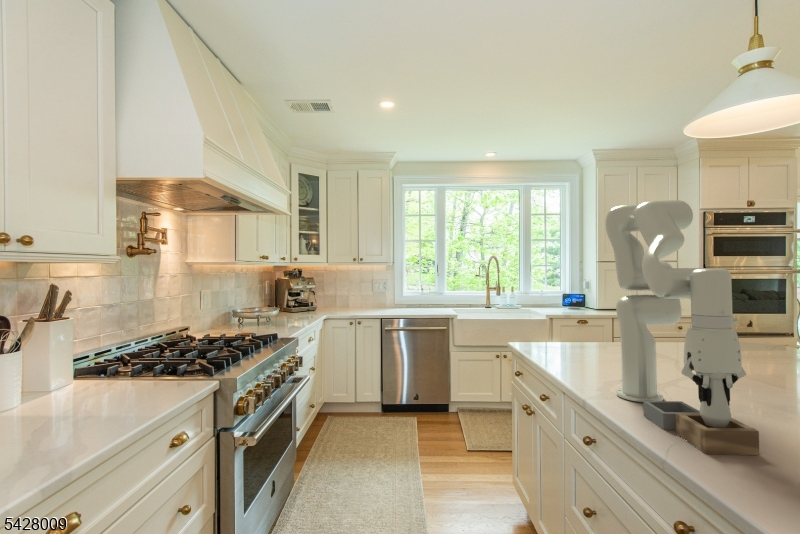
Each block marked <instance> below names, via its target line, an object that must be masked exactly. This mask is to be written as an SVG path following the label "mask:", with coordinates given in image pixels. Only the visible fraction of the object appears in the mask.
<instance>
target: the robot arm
mask: <svg viewBox="0 0 800 534" xmlns="http://www.w3.org/2000/svg"><path fill="white" fill-rule="evenodd" d="M605 216H606V217H605V231H606V234H607V237H608V239H609V242H610V244H611V247H612V250H613V254H614V262H615V270H616V276H617V281H618V285H619V287H620V289H622V290H624V291H629V292H652V294H628V295H625V296H622V297H620V298H619V299H618V301H617V302H616V306H615V308H616V309H615V310H616V315H617V319H618V320H617V321H618V324H619V325H618V326H619V333H620V334H619V337H620V361H621V362H620V363H621V365H620V366H621V381H620V382H621V387H620V388H618V389H617V390H616V396H618V397H620V399H624V400H627V401H631V402H638V403H643V401H664V395H663V394H662V393H660V392H658V368H657V367H658V366H657V343H656V338H655V336H654V335H653V333H652V332H651V331H650V330H649V329H648V327H651V326H674V325H676V324H678V323H679V321H680V320H681V317H682V306H681V299H689V300H690V313H691V314H690V315H691V316H690V317H691V327H687V329H686V334H685V339H684V346H683V347H684V348H683V368H682V370H681V372H680V373H681V374H682V375H683V376H684V377H687V378H689V379H690V380H692V381H693V382H694V383H695V385H696V386H697V387H698V388H697V391H698V393H697V394H698V400H699V402H700V403H701V402H702V401H706V403H707V406H711V398H712V394H711V389H710V388H708V386H709V374H714V373H717V372H723V373H724V374H726V377H725V378H724V379H723V383H724V390H725V395H726V398H727V402H728V405H729V406H730V401H731V389H732V388H733V387H734V384H735V383H736V382H737V381H738V380H739V379H741V378H742V379H743V378H744V377H746V375H747V372H746V371H745V369H744V367H743V365H742V364H743V363H742V351H741V345H740V339H739V336H738V333H737V330H736V328H735V329H734V324H738V322H739V319H738V318H737V317H734V315H733V292H732V291H733V289H732V285H733V284H732V274H731V272H730V271H729V270H728V269H726V268H706V267H705V268H704V267H675V268H674V267H673V266H672V265H671V264H670V262H669V263H668V262H666V261H663V260H661V259H664V258H666V257H668V256H670V255H672V254H674V253H675V252H677V251H678V250H680V249H681V248H682V247H683V245H684V244H685V236H684V234H683V232H682V231H681V230H685V229H687V228H689V227H690V226H691V224H692V222H693V220H694V213H693V209H692V208H691V206H690V204H689V203H687V202H686V201H684V200H681V199H679V200H678V199H677V200H675V199H672V200H671V199H670V200H668V199H667V200H649V201H645V202H642V203H641V204H624V205H623V204H622V205H618V206H614V207H612V208H611V209H609V211H608V212H607V214H606V215H605ZM633 232H639V233H640V234H641V236H642V238H643V239H644V241H645V243H646V245H647V247H648V248H647V249H646V250H645V247H644V246H643V244H642V243H641V241H640V240H639V239H638V238H637V237H636V236H635V235H634V234H632V233H633ZM693 371H694V373H693Z"/></svg>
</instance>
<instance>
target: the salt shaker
mask: <svg viewBox="0 0 800 534" xmlns="http://www.w3.org/2000/svg"><path fill="white" fill-rule="evenodd" d="M725 377H726V374H724V373H723V372H717V373H714V374H709V386H708V388H710V389H711V394H712V398H711V406H707V403H706V401H702V402H700V407H699V411H700V415H701V417H702V419H703V421H704V423H705V424H706V425H708V426H712V427H715V428H725V427H726V426H727V425H728V423H729V422H730V420H731V418H732V413H731V408H730V404H729V405H728V402H727V398H726V395H725V390H724V383H723V379H724V378H725Z"/></svg>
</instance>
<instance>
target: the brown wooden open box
mask: <svg viewBox="0 0 800 534" xmlns="http://www.w3.org/2000/svg"><path fill="white" fill-rule="evenodd" d="M675 434H676V435H677V434H678V435H679V436H678V435H677V436H678V437H680V436H681V437H682V438H681V437H680V438H681V439H683V438H684V439H685V440H687V441H688V442H689V444H690V443H691V444H692V446H693V445H694V446H695V447H694V446H693V447H694V448H696V447H697V448H698V449H697V448H696V449H697V450H699V451H700V450H701V451H700V452H702V453H703V454H705V455H731V454H733V456H735V455H737V456H739V455H741V456H742V455H743V456H744V455H746V456H747V455H749V456H760V455H761V454H760V431H759V430H757V429H755V428H754V427H751V426H749V425H747V424H745V423H743V422H741V421H739V420H737V419H735V418H733V417H731V420H730V422H729V423H728V425H727V426H726V427H725V428H715V427H712V426H708V425H706V424H705V423H704V421H703V419H702V417H701V415H700V414H697V413H676V430H675ZM684 439H683V440H684ZM685 440H684V441H685ZM687 441H686V442H687ZM688 442H687V443H688ZM691 444H690V445H691Z"/></svg>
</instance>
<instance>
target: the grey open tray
mask: <svg viewBox="0 0 800 534" xmlns="http://www.w3.org/2000/svg"><path fill="white" fill-rule="evenodd" d="M642 404H643V417H644V416H645V419H647V418H648V419H647V420H649V421H650V420H651V421H650V422H652V423H653V422H654V423H655V426H657V425H658V426H657V427H659V428H660V427H661V428H660V429H662V430H663V429H676V413H697V414H700V409H699V410H698V409H697V408H695V407H693V406H691V405H689V404H687V403H685V402H683V401H679V400H677V401H675V400H674V401H671V400H669V401H667V400H666V401H664V400H663V401H643V402H642ZM654 423H653V424H654Z"/></svg>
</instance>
